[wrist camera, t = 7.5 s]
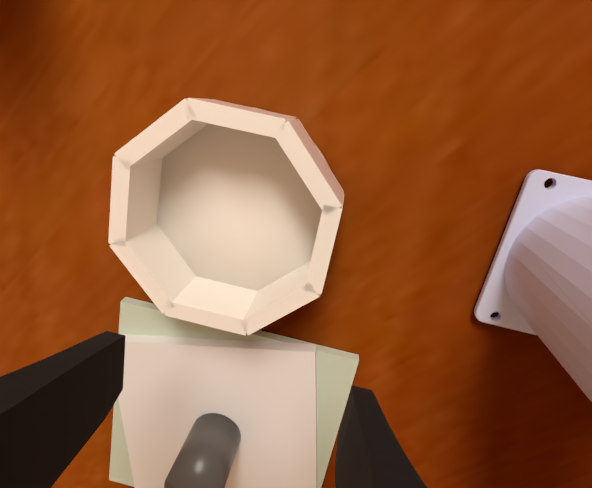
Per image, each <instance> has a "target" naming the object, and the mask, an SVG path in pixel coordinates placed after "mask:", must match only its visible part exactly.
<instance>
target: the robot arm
mask: <svg viewBox="0 0 592 488" xmlns="http://www.w3.org/2000/svg"><path fill="white" fill-rule="evenodd" d="M549 178H552V180H553V182H552V185H551V186H550V187H548V188H545V186H544V182H545V181H546V180H547V179H549ZM494 312H498V315H497V316H496V317H490V315H491V314H492V313H494ZM474 314H475V317H476V318H477V319H478V320H479V321H481V322H483V323H488V324H492V325H496V326H500V327H504V328H508V329H513V330H517V331H521V332H525V333H529V334H533V335H537V336H538V337H539V338H540V339H541V341H542V342H543V343H544V344H545V345H546V347H547V348H548V349H549V350H550V352H551V353H552V354H553V355H554V357H555V358H556V359H557V360H558V362H559V363H560V364H561V365H562V366H563V368H564V369H565V370H566V371H567V373H568V374H569V375H570V376H571V378H572V379H573V380H574V381H575V382H576V384H577V385H578V386H579V387H580V389H581V390H582V391H583V392H584V394H585V395H586V396H587V397H588V399H589V400H590V401H591V402H592V181H591V180H586V179H582V178H577V177H573V176H568V175H563V174H559V173H554V172H549V171H545V170H539V169H536V170H533V171H531V172H529V173H528V174H527V176H526V177H525V180H524V182H523V185H522V187H521V190H520V193H519V195H518V198H517V200H516V203H515V205H514V208H513V211H512V213H511V216H510V218H509V221H508V223H507V226H506V229H505V231H504V234H503V236H502V239H501V242H500V244H499V247H498V249H497V252H496V254H495V257H494V260H493V262H492V265H491V267H490V270H489V272H488V275H487V278H486V280H485V283H484V285H483V288H482V290H481V293H480V296H479V298H478V301H477V303H476V306H475V308H474ZM125 336H126V335H121V334H117V333H112V332H108V331H107V332H104V333H101V334H99V335H97V336H94V337H92V338H90V339H88V340H85V341H83V342H81V343H79V344H77V345H74V346H72V347H70V348H68V349H66V350H63V351H61V352H59V353H57V354H55V355H52V356H50V357H48V358H46V359H43V360H41V361H38V362H36V363H34V364H31V365H29V366H26V367H24V368H21V369H19V370H16V371H14V372H11V373H9V374H6V375H4V376H1V377H0V488H51V487H52V485H53V484H54V483H55V481H56V480H57V479H58V478H59V476H60V475H61V474H62V472H63V471H64V470H65V469H66V467H67V466H68V465H69V464H70V462H71V461H72V460H73V459H74V457H75V456H76V455H77V454H78V452H79V451H80V450H81V449H82V447H83V446H84V445H85V444H86V442H87V441H88V440H89V438H90V437H91V436H92V435H93V433H94V432H95V431H96V430H97V428H98V427H99V426H100V424H101V423H102V422H103V420H104V419H105V418H106V416H107V415H108V413H109V411H110V410H111V408H112V407H113V405H114V403H115V402H116V400H117V398H118V397H119V395H120V393H121V391H122V390H123V377H124V356H125ZM335 483H336V488H427V487H426V485H425V484H424V483H423V481H422V480H421V478H420V477H419V475H418V474H417V472H416V471H415V469H414V467H413V466H412V464H411V463H410V461H409V460H408V458H407V456H406V455H405V453H404V451H403V450H402V448H401V446H400V444H399V442H398V441H397V439H396V437H395V435H394V434H393V432H392V430H391V428H390V426H389V424H388V422H387V420H386V418H385V416H384V414H383V412H382V410H381V408H380V406H379V404H378V402H377V399H376V397H375V395H374V393H373V392H372V390H369V389H365V388H360V387H356V386H351V390H350V394H349V398H348V401H347V405H346V409H345V413H344V416H343V420H342V424H341V428H340V431H339V435H338V441H337V453H336V467H335Z"/></svg>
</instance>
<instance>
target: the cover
mask: <svg viewBox="0 0 592 488" xmlns="http://www.w3.org/2000/svg"><path fill="white" fill-rule="evenodd" d="M121 335H126V334H121ZM118 400H119V405H120V411H121V416H122V422H123V427H124V432H125V438H126V443H127V449H128V454H129V460H130V465H131V470H132V476H133V481H134V487H135V488H318V477H317V350H316V344H302V343H282V342H263V341H243V340H224V339H204V338H185V337H165V336H146V335H126V336H125V356H124V377H123V390H122V391H121V393H120V395H119V397H118Z"/></svg>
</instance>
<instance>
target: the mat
mask: <svg viewBox="0 0 592 488" xmlns="http://www.w3.org/2000/svg"><path fill="white" fill-rule="evenodd" d="M119 334H126V335H146V336H165V337H185V338H204V339H224V340H243V341H263V342H282V343H302V344H313V343H309V342H305V341H301V340H297V339H293V338H289V337H285V336H281V335H277V334H273V333H269V332H265V331H261V330H257V331H256V332H254V333H252V334H250V335H247V334H246V336H244V335H241V334H237V333H233V332H229V331H225V330H221V329H217V328H213V327H209V326H205V325H201V324H197V323H193V322H189V321H185V320H181V319H177V318H173V317H169V316H165V313H163V314H162V313H161V312H160V310H159V309H158V308H157V306H156V305H155V304H153V303H149V302H145V301H141V300H137V299H133V298H129V297H125V298H124V299H123V300H122V301H121V304H120V320H119ZM316 350H317V477H318V488H321V487H322V483H323V480H324V477H325V473H326V470H327V467H328V463H329V460H330V456H331V453H332V450H333V446H334V443H335V440H336V436H337V433H338V430H339V426H340V423H341V419H342V416H343V413H344V409H345V406H346V403H347V399H348V396H349V393H350V389H351V386H352V383H353V379H354V376H355V372H356V369H357V366H358V362H359V355H358V354H354V353H350V352H346V351H342V350H338V349H334V348H330V347H326V346H322V345H318V344H316ZM109 480H111V481H115V482H118V483H122V484H125V485H129V486H133V487H134V481H133V476H132V470H131V465H130V460H129V454H128V449H127V443H126V438H125V432H124V427H123V422H122V416H121V411H120V405H119V400H118V398H117V400H116V402H115V403H114V411H113V426H112V441H111V456H110V472H109Z"/></svg>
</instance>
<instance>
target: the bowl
mask: <svg viewBox="0 0 592 488" xmlns="http://www.w3.org/2000/svg"><path fill="white" fill-rule="evenodd" d="M114 154H115V156H113V164H112V183H111V202H110V222H109V241H108V243H110V244H111V245H110V247H111V249H112V250H113V251H114V252H115V254H116V255H117V256H118V258H119V259H120V260H121V261H122V263H123V264H124V265H125V267H126V268H127V269H128V270H129V272H130V273H131V274H132V276H133V277H134V278H135V279H136V281H137V282H138V283H139V285H140V286H141V287H142V288H143V290H144V291H145V292H146V294H147V295H148V296H149V297H150V299H151V300H152V301H153V303H154V304H155V305H156V306H157V308H158V309H159V310H160V312H161V313H162V314H163V313H165V316H169V317H173V318H177V319H181V320H185V321H189V322H193V323H197V324H201V325H205V326H209V327H213V328H217V329H221V330H225V331H229V332H233V333H237V334H241V335H244V336H246V334H247V335H250V334H252V333H254V332H256V331H257V330H259V329H261V328H263V327H265V326H267V325H268V324H270V323H272V322H274V321H276V320H278V319H280V318H281V317H283V316H285V315H287V314H289V313H291V312H293V311H294V310H296V309H298V308H300V307H302V306H304V305H305V304H307V303H309V302H311V301H313V300H315V299H317V298H318V297H320V294H322V290H323V286H324V282H325V278H326V274H327V270H328V266H329V262H330V258H331V254H332V250H333V246H334V241H335V237H336V233H337V229H338V225H339V221H340V217H341V213H342V209H343V200H344V194H343V193H344V191H343V189H342V187H341V186H340V184H339V183H338V181H337V179H336V178H335V176H334V175H333V173H332V171H331V169H330V167H329V165H328V163H327V161H326V159H325V157H324V155H323V154H322V152H321V151H320V149H319V148H318V147H317V145H316V144H315V143H314V142H313V140H312V139H311V138H310V136H309V135H308V133H307V132H306V130H305V128H304V127H303V125H302V124H301V122H300V120H299V119H296V117H293V116H288V115H284V114H279V113H274V112H270V111H266V110H263V109H259V108H253V107H247V106H242V105H237V104H233V103H228V102H224V101H219V100H214V99H201V98H185V99H184V100H182V101H181V102H180V103H178V104H177V105H176V106H175V107H173V108H172V109H171V110H169V111H168V112H167V113H166V114H164V115H163V116H162V117H160V118H159V119H158V120H157V121H155V122H154V123H153V124H152V125H150V126H149V127H148V128H146V129H145V130H144V131H143V132H141V133H140V134H139V135H137V136H136V137H135V138H134V139H132V140H131V141H130V142H128V143H127V144H126V145H125V146H123V147H122V148H121V149H119V150H118V151H117V152H116V153H114Z"/></svg>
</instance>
